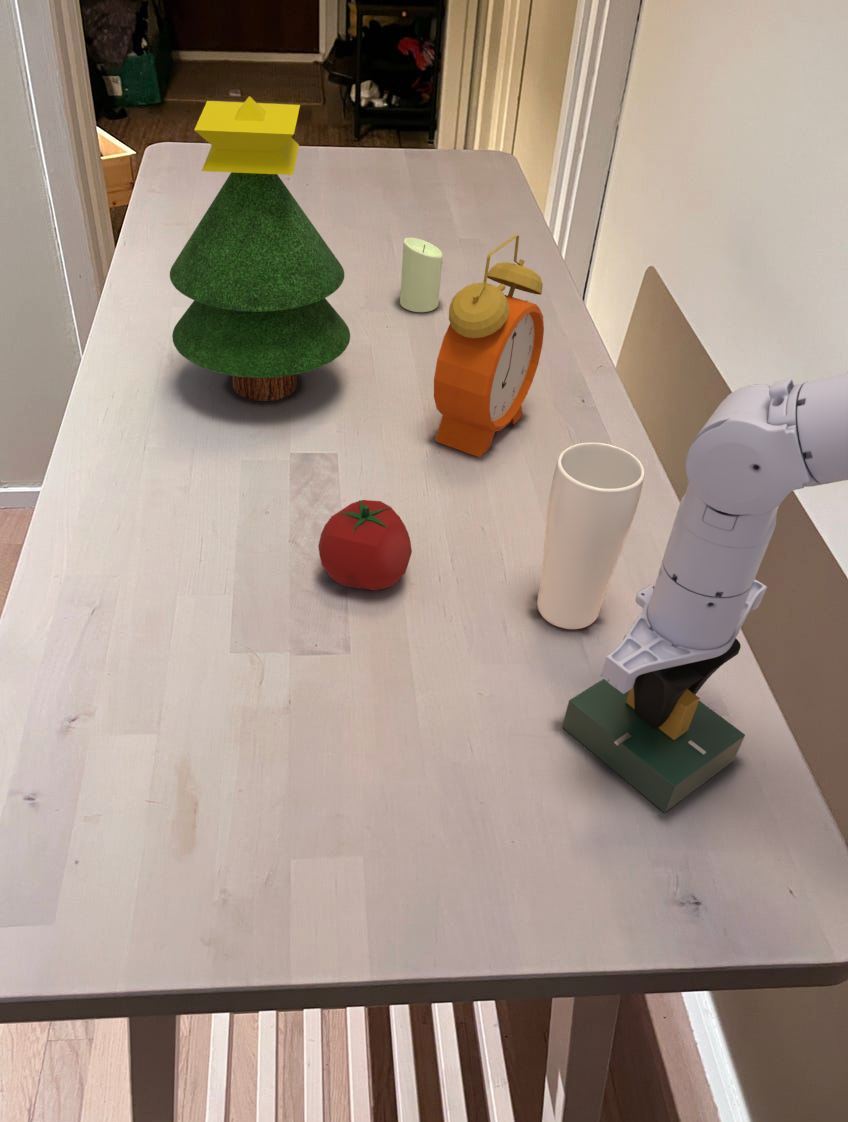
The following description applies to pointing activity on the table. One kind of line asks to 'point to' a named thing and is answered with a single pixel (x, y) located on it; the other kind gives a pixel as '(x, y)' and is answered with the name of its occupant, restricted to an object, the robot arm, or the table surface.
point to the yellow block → (676, 714)
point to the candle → (420, 275)
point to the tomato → (365, 546)
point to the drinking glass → (586, 530)
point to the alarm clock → (488, 356)
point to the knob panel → (651, 744)
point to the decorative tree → (256, 261)
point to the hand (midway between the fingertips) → (657, 712)
